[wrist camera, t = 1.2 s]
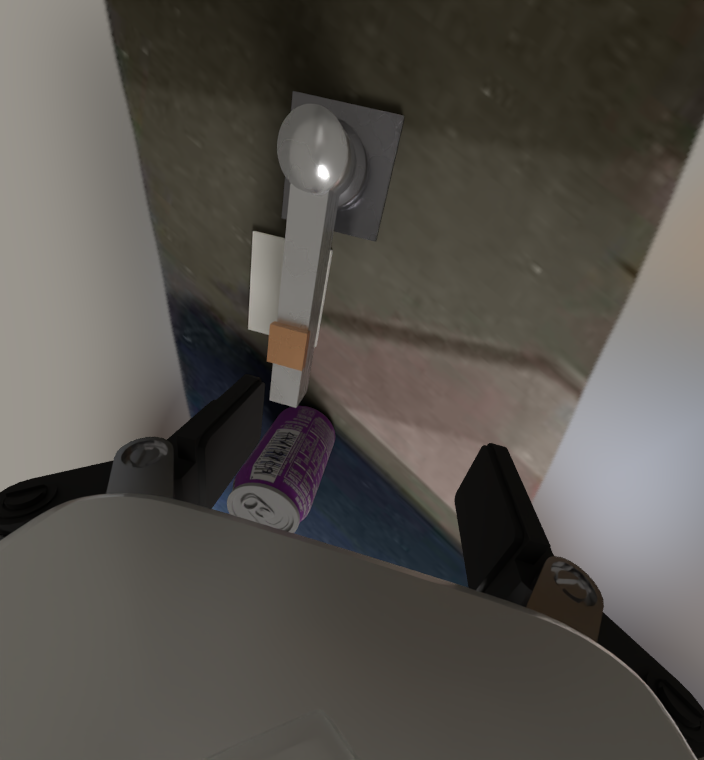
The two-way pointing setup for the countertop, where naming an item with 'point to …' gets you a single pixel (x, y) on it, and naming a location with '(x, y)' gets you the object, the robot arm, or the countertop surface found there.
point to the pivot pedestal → (360, 164)
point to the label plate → (269, 281)
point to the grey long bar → (306, 240)
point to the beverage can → (284, 470)
